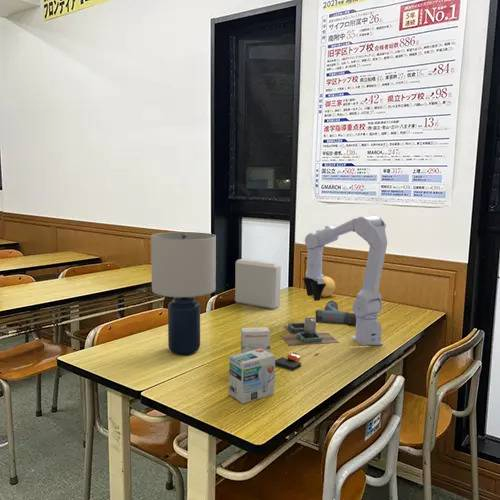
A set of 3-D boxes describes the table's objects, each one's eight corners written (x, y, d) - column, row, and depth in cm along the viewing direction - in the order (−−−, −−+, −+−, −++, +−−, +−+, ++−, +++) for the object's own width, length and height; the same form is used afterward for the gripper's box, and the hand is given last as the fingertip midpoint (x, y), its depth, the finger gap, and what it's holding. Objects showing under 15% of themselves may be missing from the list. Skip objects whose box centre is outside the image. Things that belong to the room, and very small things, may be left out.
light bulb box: (242, 404, 118) (243, 363, 117) (227, 394, 124) (228, 355, 122) (275, 394, 124) (276, 355, 123) (260, 384, 130) (261, 347, 128)
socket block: (316, 334, 173) (316, 329, 172) (290, 336, 171) (290, 330, 170) (307, 326, 182) (307, 321, 182) (282, 327, 180) (283, 322, 180)
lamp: (155, 365, 142) (153, 237, 136) (150, 342, 162) (149, 230, 156) (220, 359, 148) (221, 236, 142) (209, 338, 167) (209, 229, 161)
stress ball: (331, 296, 234) (317, 281, 237) (342, 284, 228) (328, 269, 231) (321, 303, 227) (307, 288, 230) (332, 290, 221) (317, 275, 224)
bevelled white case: (282, 306, 211) (283, 262, 208) (273, 310, 204) (274, 265, 201) (243, 299, 222) (243, 257, 219) (233, 303, 215) (233, 260, 212)
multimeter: (297, 347, 160) (297, 338, 160) (326, 357, 152) (327, 347, 152) (261, 362, 148) (261, 351, 147) (291, 373, 139) (291, 362, 139)
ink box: (268, 362, 145) (268, 326, 144) (270, 369, 140) (271, 331, 139) (240, 363, 144) (240, 326, 143) (241, 370, 140) (242, 331, 138)
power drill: (362, 314, 202) (363, 328, 183) (318, 310, 206) (315, 324, 186) (363, 301, 201) (364, 315, 182) (319, 298, 205) (315, 311, 186)
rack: (338, 344, 163) (339, 338, 163) (289, 347, 159) (289, 341, 159) (328, 334, 173) (328, 329, 172) (280, 337, 169) (281, 332, 168)
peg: (317, 338, 166) (318, 319, 165) (310, 341, 163) (310, 321, 162) (309, 335, 169) (309, 317, 168) (301, 338, 166) (302, 318, 165)
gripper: (331, 267, 176) (329, 302, 178) (317, 260, 190) (316, 293, 192) (313, 267, 175) (312, 303, 177) (301, 260, 189) (300, 293, 191)
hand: (313, 297), depth 184 cm, fingers open, 7 cm apart
